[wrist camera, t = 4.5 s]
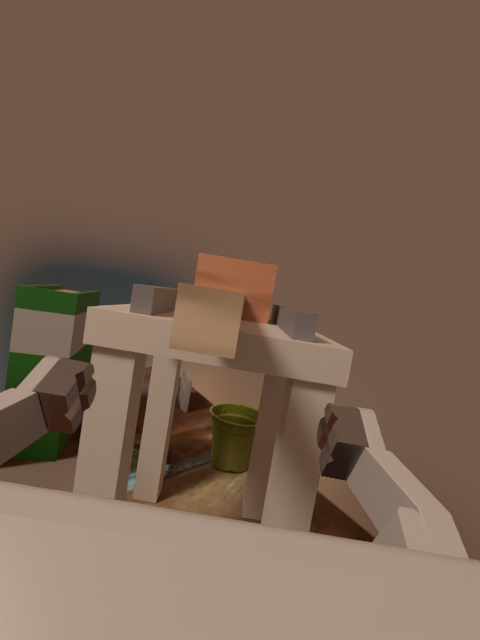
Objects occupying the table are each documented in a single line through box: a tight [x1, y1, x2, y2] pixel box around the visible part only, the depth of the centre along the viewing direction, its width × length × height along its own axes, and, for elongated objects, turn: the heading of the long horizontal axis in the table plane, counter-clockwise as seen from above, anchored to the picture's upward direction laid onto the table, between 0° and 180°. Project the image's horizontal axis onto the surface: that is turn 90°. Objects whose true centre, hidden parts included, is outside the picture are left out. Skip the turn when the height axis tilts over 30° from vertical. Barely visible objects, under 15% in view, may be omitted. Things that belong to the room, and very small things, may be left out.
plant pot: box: [210, 403, 258, 473], centre depth 56 cm, size 9×9×9 cm
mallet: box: [169, 253, 278, 359], centre depth 27 cm, size 29×8×6 cm, turn 179°
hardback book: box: [5, 285, 100, 461], centre depth 55 cm, size 18×7×24 cm, turn 13°
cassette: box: [178, 367, 192, 413], centre depth 81 cm, size 12×2×8 cm, turn 14°
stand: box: [73, 284, 353, 532], centre depth 35 cm, size 22×18×27 cm
